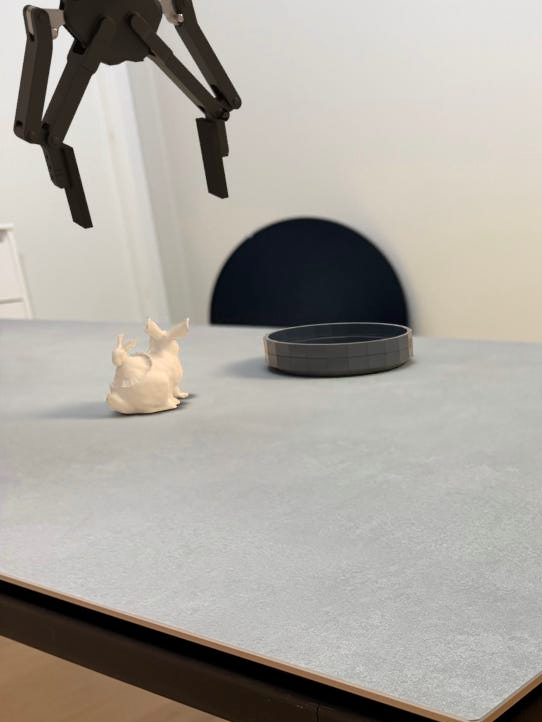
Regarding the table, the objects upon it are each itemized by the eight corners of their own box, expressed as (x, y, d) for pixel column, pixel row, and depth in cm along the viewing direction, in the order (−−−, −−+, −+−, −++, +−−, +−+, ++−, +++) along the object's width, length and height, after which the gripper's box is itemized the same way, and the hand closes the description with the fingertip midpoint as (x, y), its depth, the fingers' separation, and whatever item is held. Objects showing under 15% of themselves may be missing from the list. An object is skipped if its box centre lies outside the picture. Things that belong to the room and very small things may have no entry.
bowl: (237, 373, 122) (233, 341, 120) (318, 349, 137) (315, 320, 136) (367, 382, 115) (365, 347, 113) (437, 355, 130) (436, 325, 129)
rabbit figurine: (182, 394, 111) (169, 306, 106) (228, 400, 107) (215, 310, 102) (94, 414, 102) (75, 320, 97) (141, 422, 98) (123, 324, 94)
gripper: (-56, -61, 67) (36, 249, 81) (255, -80, 79) (289, 192, 93) (-89, -69, 71) (4, 227, 85) (212, -85, 83) (250, 176, 97)
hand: (153, 209), depth 89 cm, fingers open, 13 cm apart
